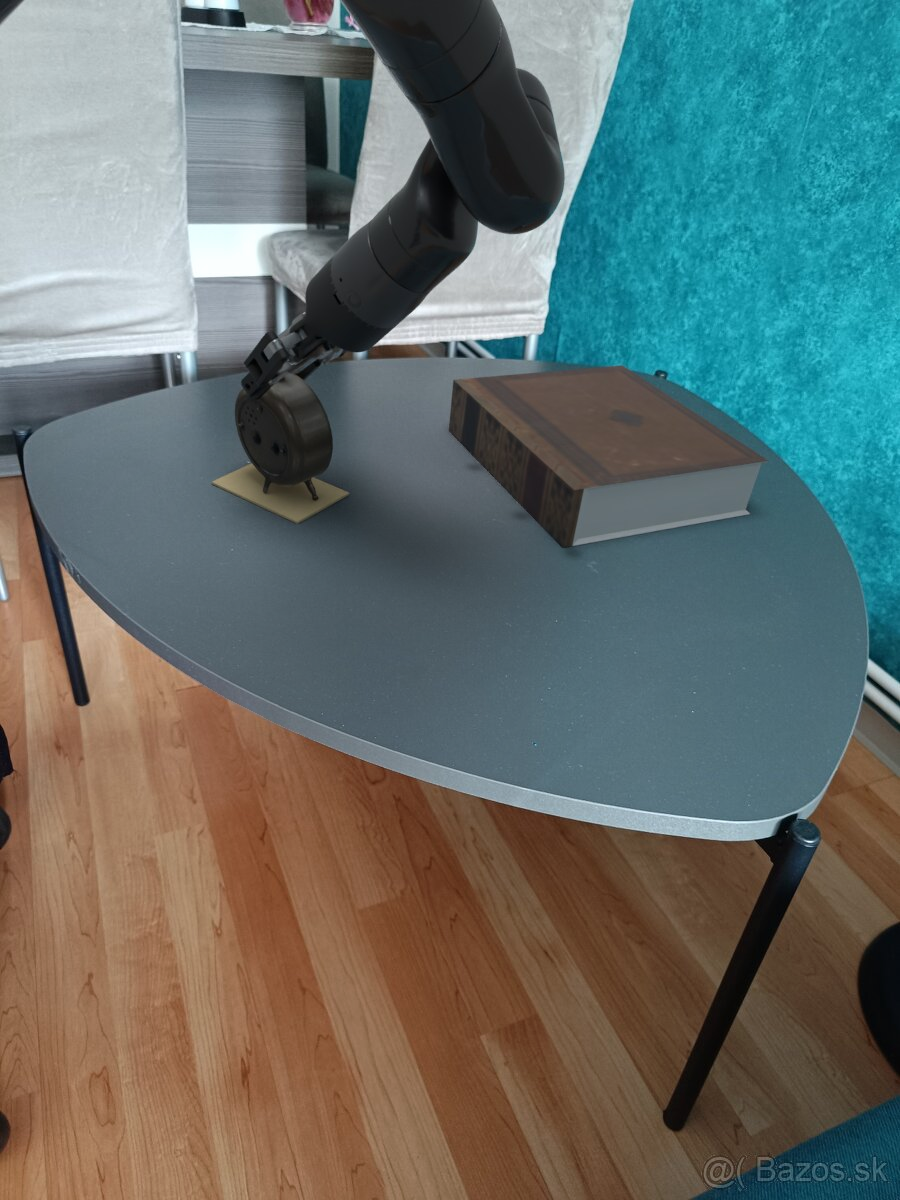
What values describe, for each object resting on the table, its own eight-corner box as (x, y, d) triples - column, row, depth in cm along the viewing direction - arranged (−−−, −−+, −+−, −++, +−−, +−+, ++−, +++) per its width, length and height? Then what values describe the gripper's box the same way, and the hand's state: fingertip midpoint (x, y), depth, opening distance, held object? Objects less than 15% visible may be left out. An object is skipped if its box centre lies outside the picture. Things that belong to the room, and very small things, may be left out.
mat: (297, 524, 82) (297, 521, 82) (211, 484, 87) (211, 481, 87) (349, 495, 88) (349, 492, 88) (265, 459, 93) (265, 456, 93)
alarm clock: (335, 500, 86) (336, 346, 77) (294, 517, 83) (290, 358, 73) (270, 461, 92) (263, 314, 82) (229, 475, 88) (217, 323, 79)
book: (562, 547, 83) (574, 490, 79) (448, 430, 103) (453, 379, 99) (750, 514, 92) (768, 460, 89) (612, 412, 112) (622, 365, 109)
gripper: (398, 233, 74) (300, 332, 86) (286, 259, 64) (192, 367, 76) (443, 308, 75) (339, 396, 87) (339, 345, 65) (238, 439, 77)
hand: (271, 382), depth 81 cm, fingers open, 5 cm apart
